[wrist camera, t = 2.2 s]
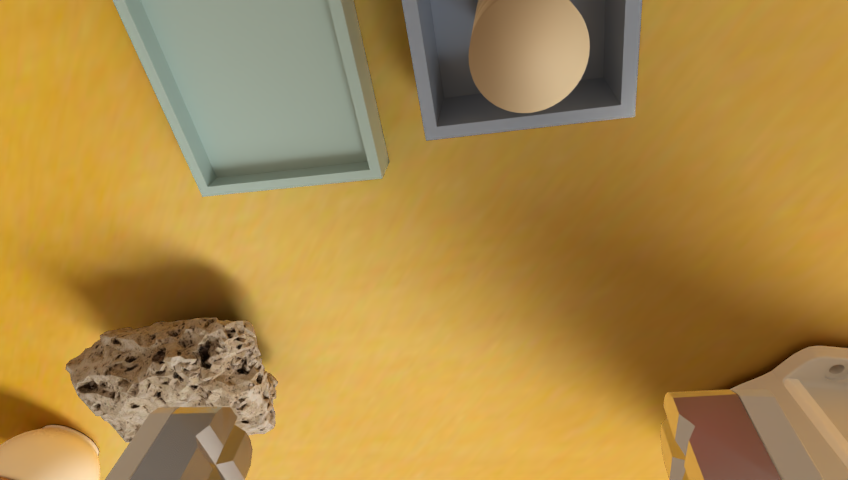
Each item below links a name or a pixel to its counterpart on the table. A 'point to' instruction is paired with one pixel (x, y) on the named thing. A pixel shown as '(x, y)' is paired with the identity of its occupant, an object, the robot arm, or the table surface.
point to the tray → (262, 90)
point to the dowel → (527, 52)
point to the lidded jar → (49, 455)
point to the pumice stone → (176, 373)
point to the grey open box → (473, 114)
